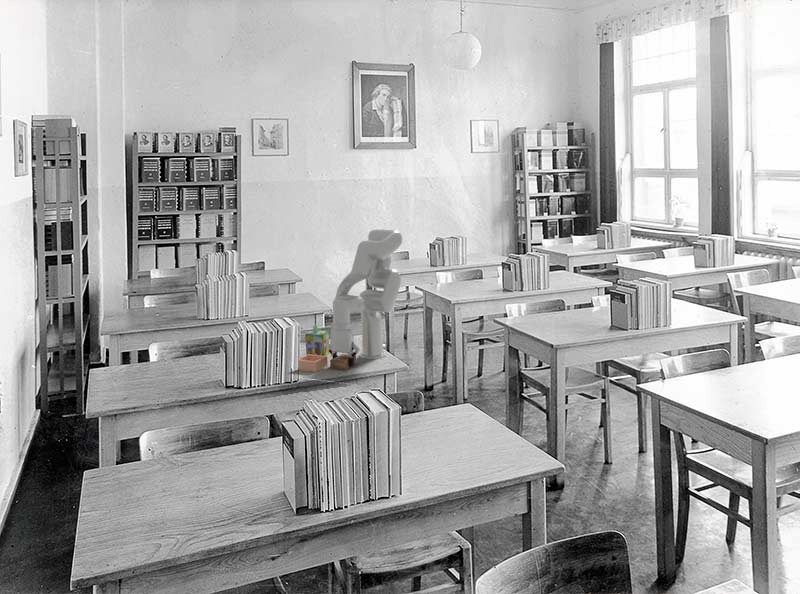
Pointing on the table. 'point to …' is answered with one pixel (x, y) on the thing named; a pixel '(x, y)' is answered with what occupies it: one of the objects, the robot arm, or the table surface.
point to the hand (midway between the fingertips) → (343, 364)
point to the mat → (344, 370)
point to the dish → (312, 363)
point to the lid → (341, 362)
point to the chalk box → (317, 342)
